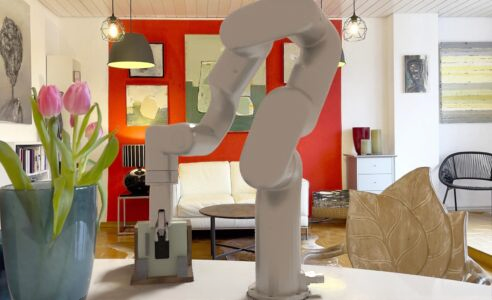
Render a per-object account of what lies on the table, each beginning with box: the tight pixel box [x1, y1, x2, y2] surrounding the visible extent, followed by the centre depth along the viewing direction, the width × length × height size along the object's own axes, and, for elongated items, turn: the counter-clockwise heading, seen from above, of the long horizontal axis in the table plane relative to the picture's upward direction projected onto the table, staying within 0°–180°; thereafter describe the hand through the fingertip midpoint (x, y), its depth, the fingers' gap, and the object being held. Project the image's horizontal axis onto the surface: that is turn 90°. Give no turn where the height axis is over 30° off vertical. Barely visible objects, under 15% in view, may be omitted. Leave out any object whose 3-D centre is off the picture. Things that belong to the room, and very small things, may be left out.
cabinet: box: [129, 218, 195, 286], centre depth 103 cm, size 14×20×11 cm
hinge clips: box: [136, 256, 188, 280], centre depth 97 cm, size 11×6×4 cm, turn 100°
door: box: [138, 221, 187, 277], centre depth 96 cm, size 11×3×12 cm, turn 100°
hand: (162, 253), depth 97 cm, fingers open, 7 cm apart
